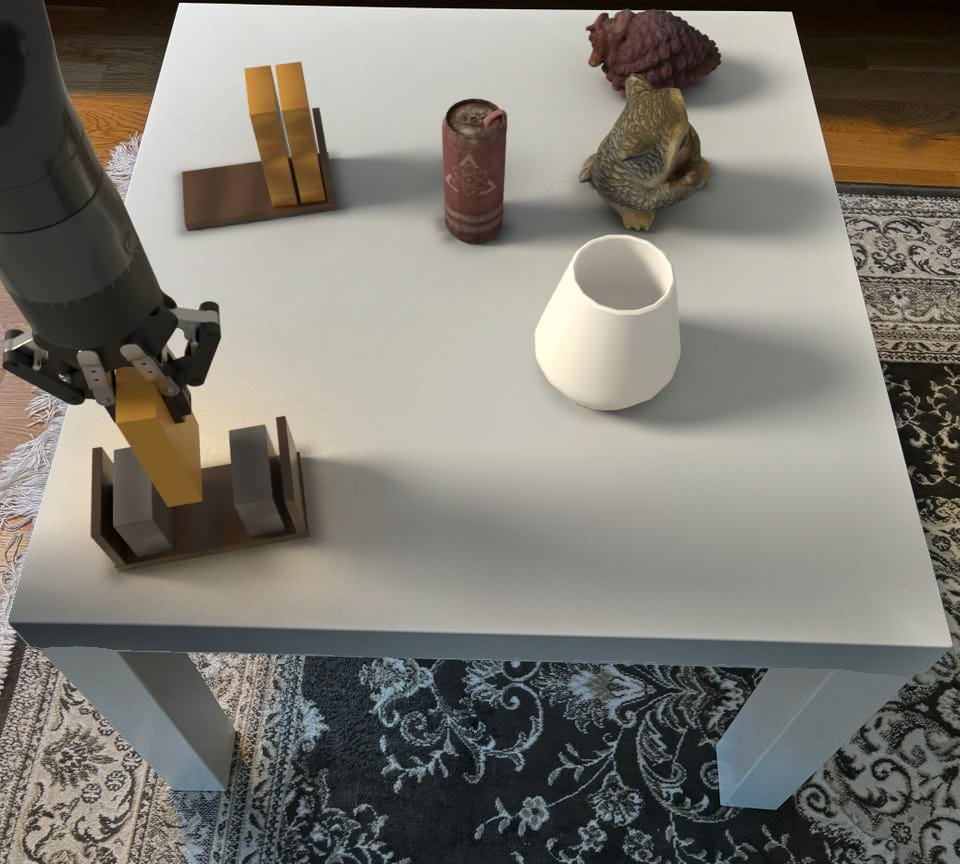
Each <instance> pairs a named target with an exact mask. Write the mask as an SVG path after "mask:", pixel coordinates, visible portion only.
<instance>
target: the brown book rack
mask: <svg viewBox="0 0 960 864" xmlns="http://www.w3.org/2000/svg"><path fill="white" fill-rule="evenodd" d="M275 423H276V425H275V426H276V434H277V442H278V453H279V454H277V452H276V449H275V447H274V443H273V442H272V439H271V436H270V433H269V431H268V429H267V425H266V424H259V425H252V426H247V427H241V428H235V429H230V430H228V443H229V456H230V463H226V464H220V465H219V464H218V465H214V466H208V467H201V479H202V499H203V501H201V502H195V503H189V504H184V505H178V506H172V507H168V506H167V505H166V503H165V501H164V500H163V498H162V497H161V495H160V493H159V492H158V490H157V489H156V487H155V485H154V484H153V482H152V481H151V479H150V477H149V476H148V474H147V473H146V471H145V469H144V468H143V466H142V465H141V463H140V461H139V460H138V458H137V457H136V455H135V453H134V452H133V450H132V449H131V447H130V446H127V447H122V448H117V449H113V460H112V459H111V458H110V457H109V455H108V454H107V452H106V451H105V449H104V448H103V446H98V447H92V449H91V483H90V484H91V485H90V487H91V488H90V489H91V490H90V534H89V535H90V536H89V537H90V538H91V539H92V540H93V542H95V543H96V545H97V546H98V547H99V548H100V549H101V550H102V551H103V552H104V554H105V555H106V556H107V557H108V559H110V561H111V562H112V563H113V564H114V568H115V570H116V571H117V572H118V573H119V572H125V571H130V570H136V569H137V570H138V569H141V568H146V567H152V566H159V565H163V564H169V563H173V562H179V561H185V560H191V559H195V558H202V557H207V556H212V555H217V554H223V553H224V554H225V553H228V552H234V551H235V552H236V551H239V550H240V551H241V550H246V549H250V548H256V547H261V546H268V545H272V544H277V543H284V542H289V541H294V540H299V539H306V538H310V537H311V536H312V534H311V526H310V517H309V509H308V500H307V492H306V484H305V475H304V467H303V460H302V455H301V452H300V451H298V449H297V447H296V444H295V441H294V437H293V435H292V432H291V429H290V426H289V425H290V424H289V423H288V419H287V416H286V415H281V416H276V417H275Z"/></svg>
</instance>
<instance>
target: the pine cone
mask: <svg viewBox="0 0 960 864" xmlns="http://www.w3.org/2000/svg"><path fill="white" fill-rule="evenodd" d="M609 16H610V14H609V13H608V12H601V13H599V15H598V16H597V18H596V19H595V20H594V22H593V23H592V24H589V25H587V26H585V31H586V32H589V35H588V41H589V42H590V43H591V44H590V45H591V48H592V50H591V54H590V56H589V58H588V61H587V64H588V65H589V67H592V68H598V67H600V66H601V67H600V69H601V71H602V73H604V74H605V79H606V80H607V81H608V82H609V83H611V89H612V90H613V91H615V92H620V96H621V97H622V98H623V99H624V98H625V99H627V97H626V92H625V86H626V81H627V79H628V77H629V76H630V75H631V74H639V75H641V76H642V77H644V78H645V79H647V80H648V81H649V82H650V83H651V84H652V86H653V87H654V88H655V89H662V88H677V89H680V90H681V88H683V87H684V86H691V85H692V84H696V82H697V80H700V79H703V78H704V77H707V76H710V75H711V73H712V72H715V70H717V69H718V67H719V66H720V65H721V64H722V60H721V58H722V53H721V52H719V51H720V49H719V46H716V45H717V43H716V41H715V40H714V39H710V37H709V35H707V34H706V33H704V34H703V33H702V32H701V31H700V29H696V27H695V26H692V25H690V24H689V22H688V21H687V20H685V19H682V17H681V16H678V15H674V14H673V13H672V11H667V10H665V9H659V10H657V9H655V8H652V9H645V10H644V11H638V12H636V13H635V12H633V11H632V10H631V9H630V8H625V9H622V10H620V11H617V12H616V13H615V14H614V16H613V17H609Z"/></svg>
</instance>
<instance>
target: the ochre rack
mask: <svg viewBox="0 0 960 864" xmlns="http://www.w3.org/2000/svg"><path fill="white" fill-rule="evenodd" d="M274 69H275V76H276V83H275V79H274V78H275V77H274V74H273V69H272V65H271V64H270V65H262V66H261V65H259V66H252V67H244V69H243V70H244V71H243V72H244V78H245V79H244V80H245V89H246V97H247V106H248V114H249V119H250V122H251V127H252V131H253V135H254V139H255V143H256V146H257V150H258V155H259V158H260V160H259V161H251V162H243V163H235V164H229V165H222V166H221V165H220V166H213V167H205V168H200V169H199V168H198V169H192V170H185V171H181V179H182V180H181V181H182V199H183V200H182V202H183V221H184V223H183V224H184V226H185V229H186V231H193V230H194V231H195V230H199V229H200V230H201V229H208V228H216V227H221V226H228V225H236V224H242V223H244V224H245V223H249V222H256V221H265V220H273V219H279V218H285V217H293V216H299V215H306V214H307V215H308V214H313V213H320V212H329V211H335V210H338V209H339V206H338V201H337V195H336V190H335V184H334V183H335V182H334V178H333V172H332V167H331V161H330V155H329V152H328V148H327V144H326V143H327V142H326V138H325V137H326V136H325V131H324V125H323V119H322V114H321V109H320V107H312V108H311V107H310V101H309V96H308V91H307V85H306V80H305V74H304V69H303V64H302V62H301V61H295V62H286V63H279V64H274ZM276 84H277V86H276ZM277 91H278V92H277ZM311 112H312V114H311ZM312 117H313V119H312ZM313 123H314V124H313Z"/></svg>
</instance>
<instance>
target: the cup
mask: <svg viewBox="0 0 960 864" xmlns="http://www.w3.org/2000/svg"><path fill="white" fill-rule="evenodd" d="M678 303H679V301H678V289H677V279H676V271H675V266H674V264H673V263H672V261H671V260H670V258H669V257H668V256H667V254H666V252H665V251H664V250H662V249H661V248H659V247H658V246H656V245H655V244H653V243H652V242H651V241H649V240H647V239H643V238H640V237H637V236H634V235H630V234H607V235H603V236H600V237H597V238H593V239H590V240H589V241H588V242H586V243H585V244H584V245H582V246H581V247H580V248H578V249H577V250H576V251H575V254H574V255H573V257H572V259H571V260H570V262H569V264H568V266H567V268H566V269H565V272H564V273H563V275H562V278H561V279H560V280H559V283H558V285H557V287H556V289H555V290H554V292H553V294H552V296H551V298H550V300H549V301H548V303H547V305H546V306H545V309H544V310H543V313H542V315H541V318H540V319H539V321H538V324H537V326H536V327H535V330H534V347H535V358H536V362H537V364H538V365H539V367H540V369H541V370H542V372H543V374H544V376H545V378H546V379H547V381H548V383H550V384H551V385H552V386H553V387H554V388H555V389H557V390H559V392H561V393H562V394H563V395H565V396H566V397H567V398H568V399H570V400H571V401H572V402H573V403H575V404H576V405H579V406H582V407H585V408H587V409H591V410H593V411H617V410H622V409H623V410H624V409H627V408H630V407H633V406H636V405H639V404H641V403H644V402H646V401H649V400H652V399H653V398H654V397H655V396H656V395H657V394H658V393H660V391H662V390H663V389H664V388H665V387H666V386H667V385H668V384H669V383H670V382H671V380H673V378H674V375H675V372H676V369H677V367H678V364H679V362H680V359H681V353H682V349H681V348H682V346H681V333H680V332H681V331H680V319H679V304H678Z"/></svg>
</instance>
